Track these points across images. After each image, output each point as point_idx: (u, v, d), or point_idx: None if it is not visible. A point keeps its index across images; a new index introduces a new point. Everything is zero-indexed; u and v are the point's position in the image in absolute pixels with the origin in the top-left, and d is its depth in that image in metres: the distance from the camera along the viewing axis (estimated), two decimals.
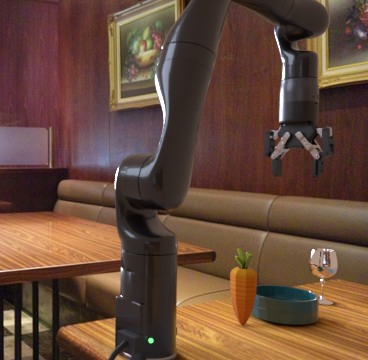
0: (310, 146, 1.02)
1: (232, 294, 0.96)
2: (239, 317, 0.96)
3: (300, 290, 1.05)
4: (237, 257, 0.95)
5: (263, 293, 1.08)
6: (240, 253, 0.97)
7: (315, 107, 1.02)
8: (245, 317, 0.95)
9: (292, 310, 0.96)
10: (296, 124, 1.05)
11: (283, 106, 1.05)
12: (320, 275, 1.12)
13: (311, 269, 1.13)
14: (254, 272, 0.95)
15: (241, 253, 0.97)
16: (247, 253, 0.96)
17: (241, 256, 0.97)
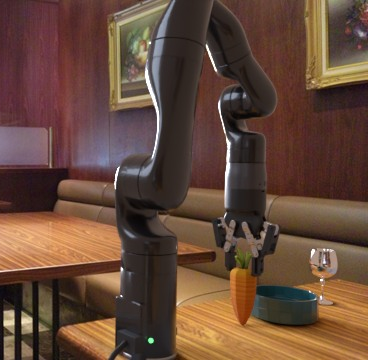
0: (252, 242, 0.93)
1: (232, 294, 0.96)
2: (239, 317, 0.96)
3: (300, 290, 1.05)
4: (237, 257, 0.95)
5: (263, 293, 1.08)
6: (240, 253, 0.97)
7: (262, 196, 0.93)
8: (245, 317, 0.95)
9: (292, 310, 0.96)
10: (242, 212, 0.95)
11: (228, 192, 0.95)
12: (320, 275, 1.12)
13: (311, 269, 1.13)
14: None
15: (241, 253, 0.97)
16: (247, 253, 0.97)
17: (241, 256, 0.97)
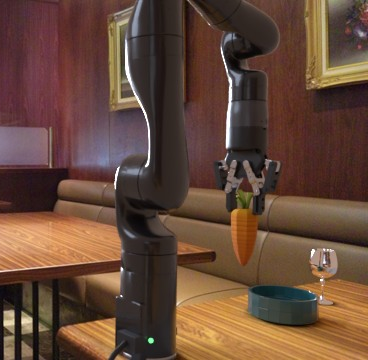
0: (253, 180, 0.92)
1: (233, 235, 0.96)
2: (240, 257, 0.95)
3: (300, 290, 1.05)
4: (238, 196, 0.95)
5: (263, 293, 1.08)
6: (241, 194, 0.97)
7: (263, 133, 0.92)
8: (246, 257, 0.95)
9: (292, 310, 0.96)
10: (244, 151, 0.95)
11: (229, 131, 0.95)
12: (320, 275, 1.12)
13: (311, 269, 1.13)
14: None
15: (242, 194, 0.97)
16: (248, 194, 0.96)
17: (242, 197, 0.96)
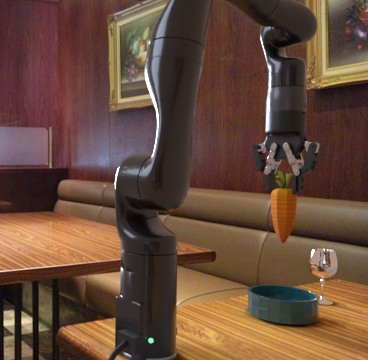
0: (293, 161, 0.98)
1: (273, 213, 1.02)
2: (280, 235, 1.01)
3: (300, 290, 1.05)
4: (278, 177, 1.00)
5: (263, 293, 1.08)
6: (280, 175, 1.02)
7: (303, 117, 0.98)
8: (285, 234, 1.01)
9: (292, 310, 0.96)
10: (283, 134, 1.00)
11: (269, 116, 1.00)
12: (320, 275, 1.12)
13: (311, 269, 1.13)
14: None
15: (281, 175, 1.02)
16: (287, 174, 1.02)
17: (281, 177, 1.02)
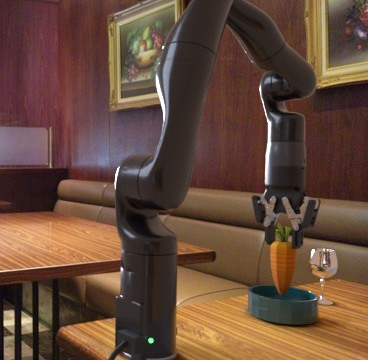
0: (292, 216, 0.99)
1: (272, 266, 1.02)
2: (279, 288, 1.02)
3: (300, 290, 1.05)
4: (277, 231, 1.01)
5: (263, 293, 1.08)
6: (280, 227, 1.03)
7: (302, 172, 0.98)
8: (285, 287, 1.01)
9: (292, 310, 0.96)
10: (282, 188, 1.01)
11: (269, 170, 1.01)
12: (320, 275, 1.12)
13: (311, 269, 1.13)
14: None
15: (280, 227, 1.03)
16: (286, 227, 1.02)
17: (281, 230, 1.03)
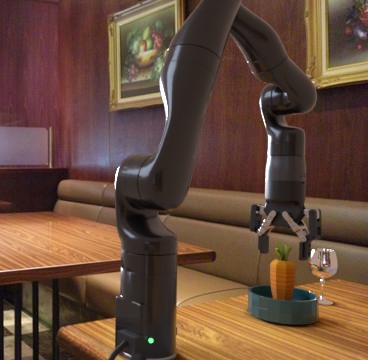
0: (297, 228, 0.98)
1: (272, 284, 1.02)
2: None
3: (300, 290, 1.05)
4: (277, 249, 1.01)
5: (263, 293, 1.08)
6: (279, 246, 1.03)
7: (302, 187, 0.98)
8: None
9: (292, 310, 0.96)
10: (282, 202, 1.01)
11: (269, 184, 1.01)
12: (320, 275, 1.12)
13: (311, 269, 1.13)
14: (293, 263, 1.01)
15: (280, 246, 1.03)
16: (286, 246, 1.02)
17: (280, 249, 1.03)
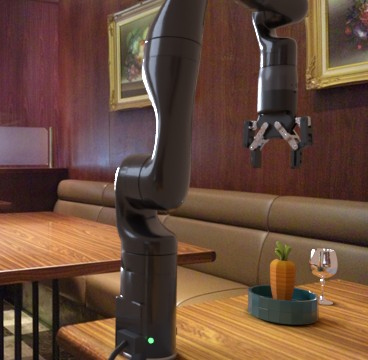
0: (288, 136, 0.99)
1: (272, 284, 1.02)
2: None
3: (300, 290, 1.05)
4: (277, 249, 1.01)
5: (263, 293, 1.08)
6: (279, 246, 1.03)
7: (294, 96, 0.99)
8: None
9: (292, 310, 0.96)
10: (274, 113, 1.02)
11: (261, 95, 1.02)
12: (320, 275, 1.12)
13: (311, 269, 1.13)
14: (293, 263, 1.01)
15: (280, 246, 1.03)
16: (286, 246, 1.02)
17: (280, 249, 1.03)
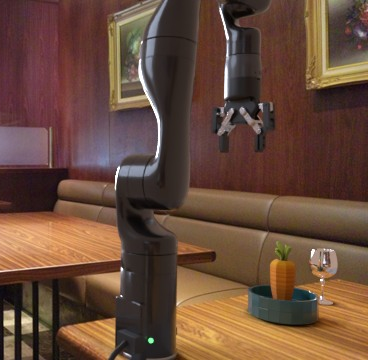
0: (252, 121, 1.04)
1: (272, 284, 1.02)
2: None
3: (300, 290, 1.05)
4: (277, 249, 1.01)
5: (263, 293, 1.08)
6: (279, 246, 1.03)
7: (257, 83, 1.04)
8: None
9: (292, 310, 0.96)
10: (240, 100, 1.06)
11: (227, 82, 1.06)
12: (320, 275, 1.12)
13: (311, 269, 1.13)
14: (293, 263, 1.01)
15: (280, 246, 1.03)
16: (286, 246, 1.02)
17: (280, 249, 1.03)
